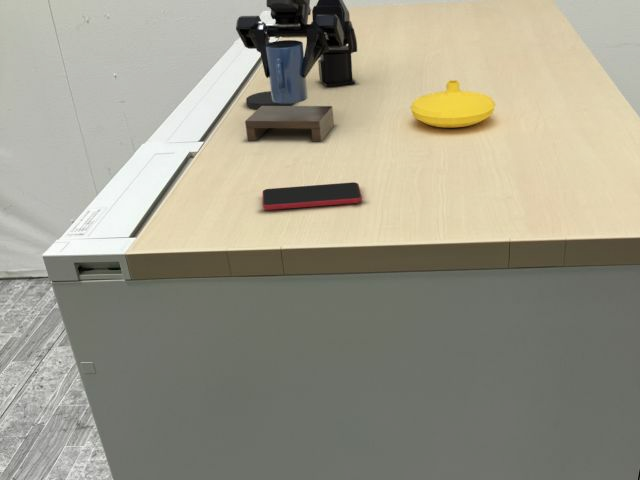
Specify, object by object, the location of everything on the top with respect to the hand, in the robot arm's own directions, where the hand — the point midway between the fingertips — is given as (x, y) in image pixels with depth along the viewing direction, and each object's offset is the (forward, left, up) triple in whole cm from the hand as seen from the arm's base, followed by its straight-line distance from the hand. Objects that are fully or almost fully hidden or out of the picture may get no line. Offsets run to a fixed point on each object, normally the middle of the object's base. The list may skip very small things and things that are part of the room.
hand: (285, 76), depth 148 cm
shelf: (0, 0, -10) cm, 10 cm away
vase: (-30, +7, -10) cm, 32 cm away
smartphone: (+4, +36, -10) cm, 37 cm away
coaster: (-1, -23, -10) cm, 25 cm away
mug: (-1, -1, -4) cm, 4 cm away
